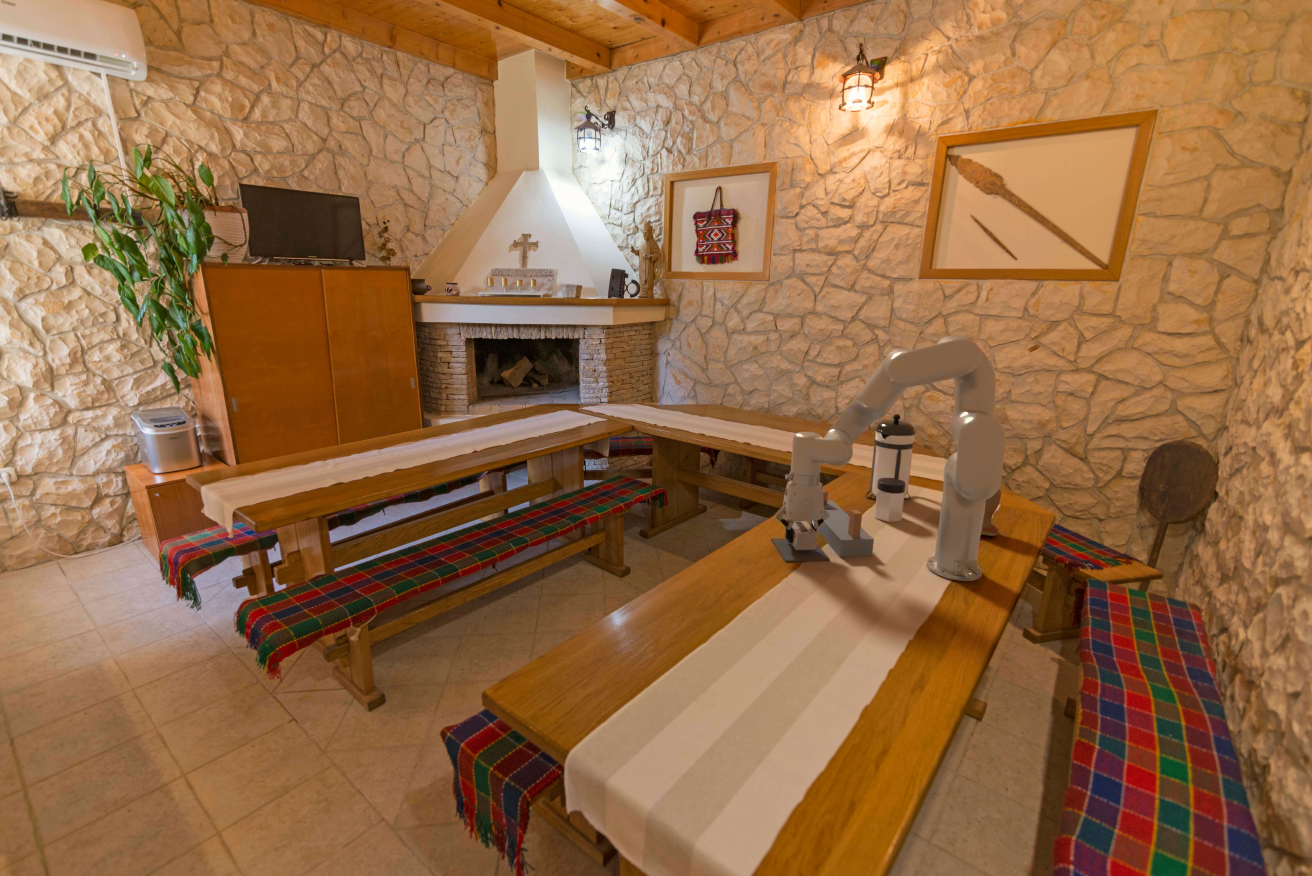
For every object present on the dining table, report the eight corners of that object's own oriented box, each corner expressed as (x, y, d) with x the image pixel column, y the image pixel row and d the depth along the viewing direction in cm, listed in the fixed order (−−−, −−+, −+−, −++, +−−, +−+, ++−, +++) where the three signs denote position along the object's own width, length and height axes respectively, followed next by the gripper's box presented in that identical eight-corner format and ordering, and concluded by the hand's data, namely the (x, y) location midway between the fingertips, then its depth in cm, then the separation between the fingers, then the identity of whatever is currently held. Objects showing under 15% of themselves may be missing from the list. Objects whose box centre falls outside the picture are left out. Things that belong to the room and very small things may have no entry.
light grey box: (816, 549, 151) (817, 532, 150) (796, 549, 150) (797, 533, 149) (803, 534, 161) (805, 518, 159) (785, 534, 160) (786, 518, 159)
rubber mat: (829, 560, 150) (829, 559, 150) (785, 562, 149) (785, 560, 149) (811, 539, 163) (811, 537, 163) (771, 540, 162) (771, 538, 162)
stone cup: (997, 528, 172) (1005, 481, 168) (997, 542, 162) (1005, 492, 158) (942, 518, 179) (948, 473, 176) (939, 531, 170) (945, 483, 166)
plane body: (872, 556, 153) (876, 514, 150) (839, 557, 152) (843, 515, 149) (830, 514, 182) (833, 479, 179) (803, 515, 181) (806, 479, 178)
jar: (907, 518, 179) (912, 482, 176) (894, 524, 174) (898, 487, 171) (881, 510, 186) (885, 475, 183) (867, 516, 181) (871, 480, 178)
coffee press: (919, 507, 189) (930, 419, 181) (869, 504, 191) (878, 417, 184) (905, 490, 205) (915, 409, 198) (860, 488, 208) (867, 407, 200)
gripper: (777, 483, 147) (773, 547, 151) (841, 482, 148) (835, 545, 152) (769, 474, 154) (766, 536, 158) (830, 473, 155) (825, 534, 160)
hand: (800, 540), depth 155 cm, fingers closed on light grey box, 5 cm apart
